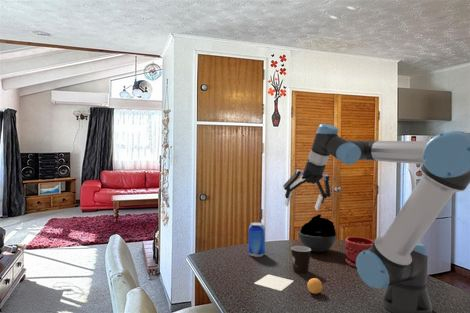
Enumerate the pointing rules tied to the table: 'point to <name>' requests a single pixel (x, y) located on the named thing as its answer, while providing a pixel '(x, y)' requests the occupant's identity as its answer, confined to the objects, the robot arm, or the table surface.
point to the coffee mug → (300, 259)
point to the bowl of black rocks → (318, 234)
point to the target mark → (274, 282)
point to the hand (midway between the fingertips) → (301, 206)
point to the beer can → (256, 239)
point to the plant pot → (355, 248)
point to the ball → (314, 285)
